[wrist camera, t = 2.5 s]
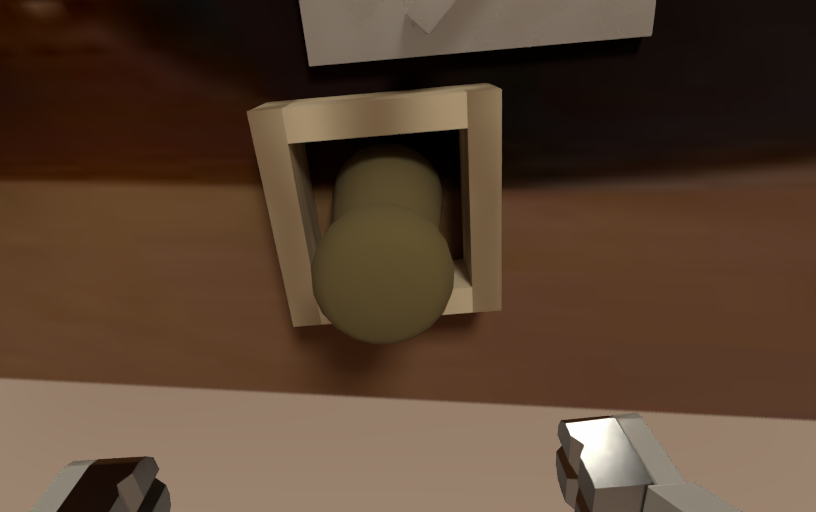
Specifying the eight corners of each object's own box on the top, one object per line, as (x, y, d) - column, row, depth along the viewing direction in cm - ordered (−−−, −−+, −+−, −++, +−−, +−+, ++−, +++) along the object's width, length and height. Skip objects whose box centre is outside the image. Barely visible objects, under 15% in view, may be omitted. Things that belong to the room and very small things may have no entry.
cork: (386, 117, 24) (379, 171, 14) (465, 198, 26) (509, 297, 16) (309, 198, 25) (252, 298, 15) (388, 268, 27) (383, 398, 17)
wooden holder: (487, 82, 23) (501, 89, 20) (489, 279, 28) (501, 310, 25) (267, 102, 23) (246, 111, 20) (305, 294, 28) (293, 326, 25)
